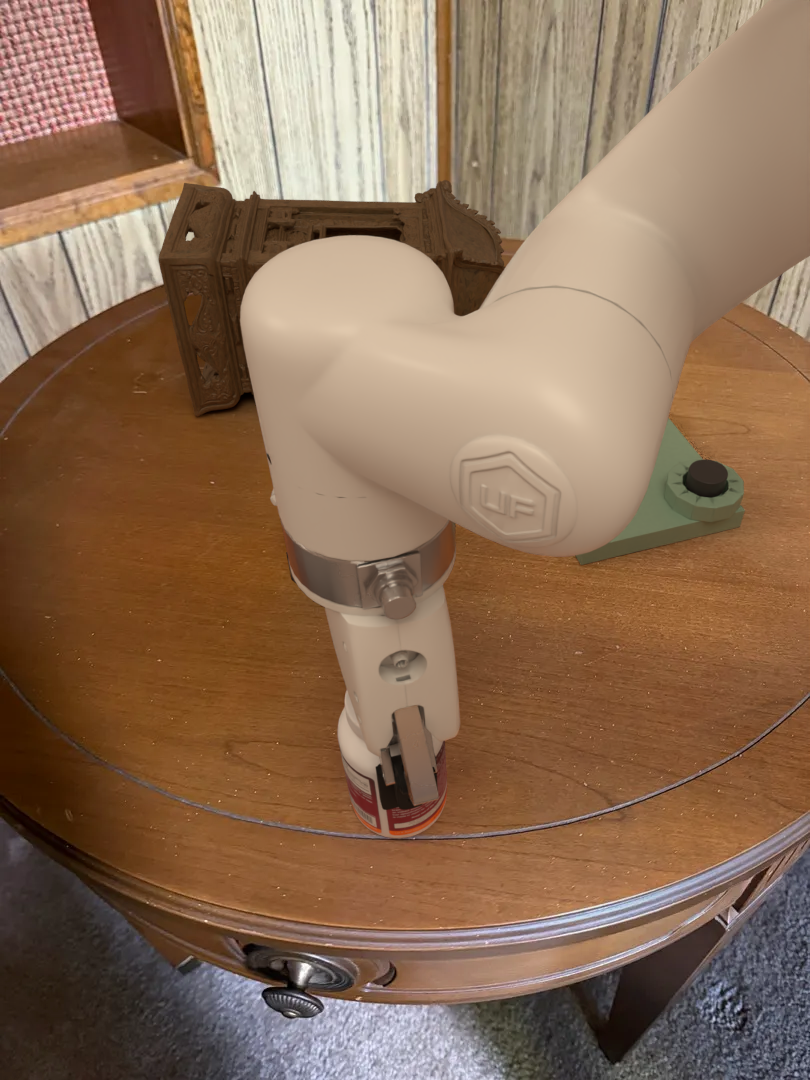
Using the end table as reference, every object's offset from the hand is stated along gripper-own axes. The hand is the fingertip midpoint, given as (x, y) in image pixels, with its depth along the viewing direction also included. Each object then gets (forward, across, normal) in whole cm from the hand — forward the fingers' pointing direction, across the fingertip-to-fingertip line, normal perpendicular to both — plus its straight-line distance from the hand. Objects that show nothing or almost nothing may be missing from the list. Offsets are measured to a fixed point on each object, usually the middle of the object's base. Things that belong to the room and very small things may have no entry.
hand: (393, 745), depth 50 cm
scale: (+6, +23, -26) cm, 35 cm away
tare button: (+3, +17, -30) cm, 35 cm away
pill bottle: (+6, 0, 0) cm, 6 cm away
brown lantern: (+6, +48, -10) cm, 49 cm away
